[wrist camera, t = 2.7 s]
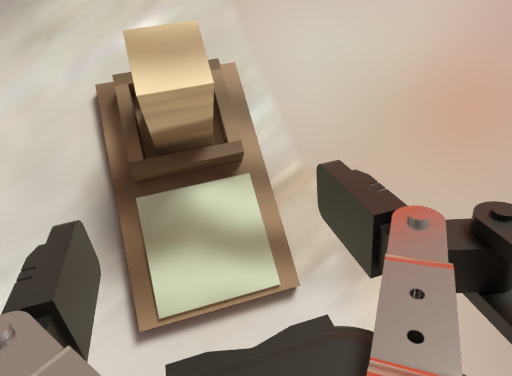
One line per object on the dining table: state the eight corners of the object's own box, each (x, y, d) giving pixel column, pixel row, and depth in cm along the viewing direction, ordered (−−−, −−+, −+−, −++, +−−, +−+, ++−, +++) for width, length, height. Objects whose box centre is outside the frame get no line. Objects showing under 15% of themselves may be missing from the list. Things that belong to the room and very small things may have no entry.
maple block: (212, 143, 30) (213, 82, 22) (157, 154, 29) (136, 95, 21) (200, 96, 31) (196, 20, 23) (147, 105, 30) (122, 30, 22)
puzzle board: (297, 285, 29) (307, 284, 26) (142, 330, 26) (133, 334, 24) (234, 68, 34) (236, 47, 31) (98, 91, 31) (87, 70, 28)
